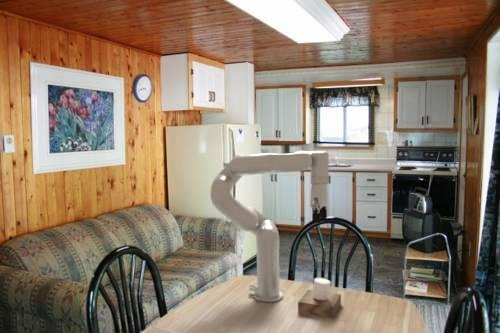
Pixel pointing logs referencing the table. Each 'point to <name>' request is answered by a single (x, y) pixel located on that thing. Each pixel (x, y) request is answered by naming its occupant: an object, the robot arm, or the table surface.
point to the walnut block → (319, 305)
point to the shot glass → (321, 288)
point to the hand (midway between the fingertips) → (319, 220)
